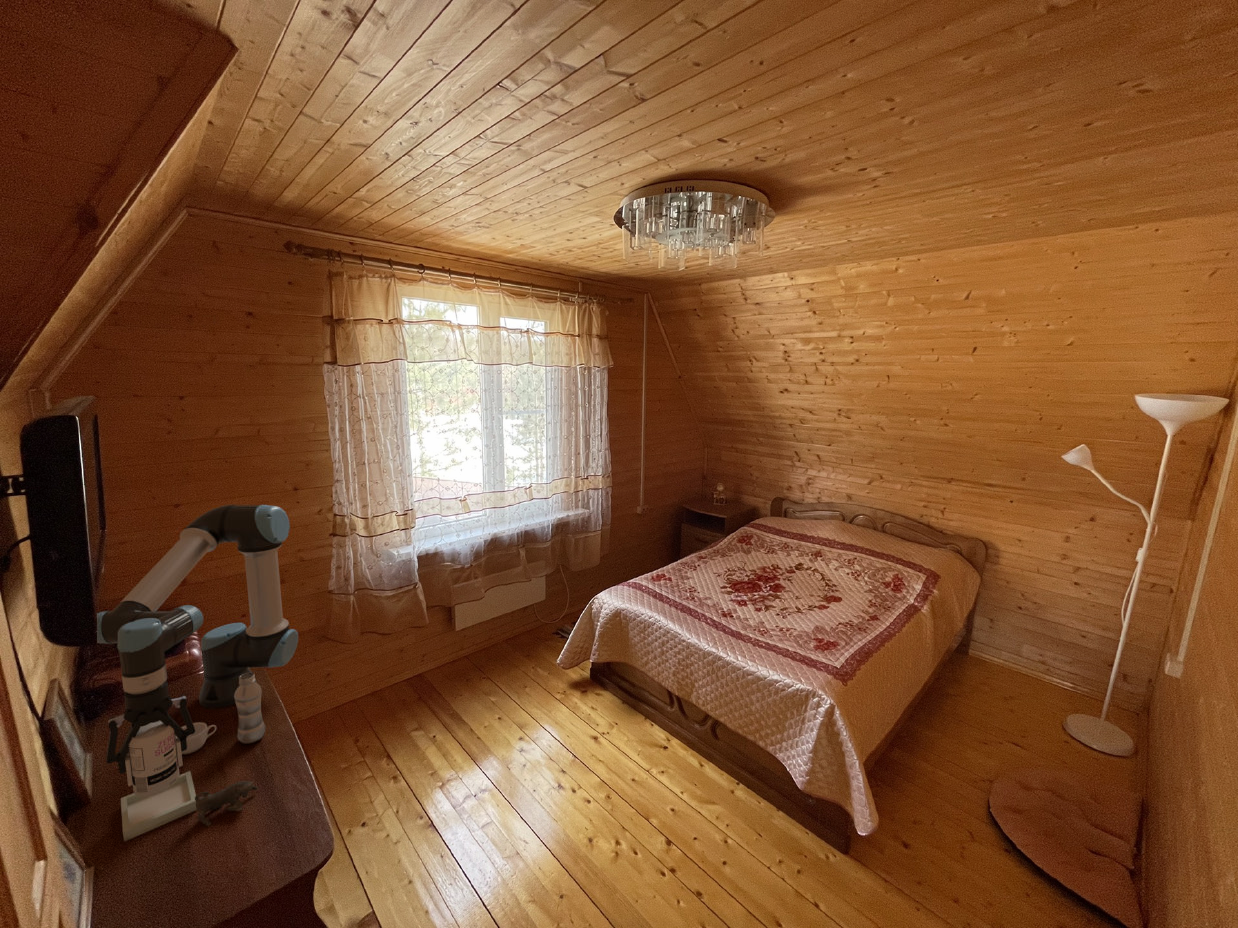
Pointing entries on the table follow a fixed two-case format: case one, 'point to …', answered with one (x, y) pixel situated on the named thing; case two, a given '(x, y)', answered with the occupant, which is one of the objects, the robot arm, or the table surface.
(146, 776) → the supplement can
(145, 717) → the robot arm
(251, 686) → the plastic bottle
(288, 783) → the table surface
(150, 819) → the can tray
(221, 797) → the dog figurine
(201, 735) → the teacup
